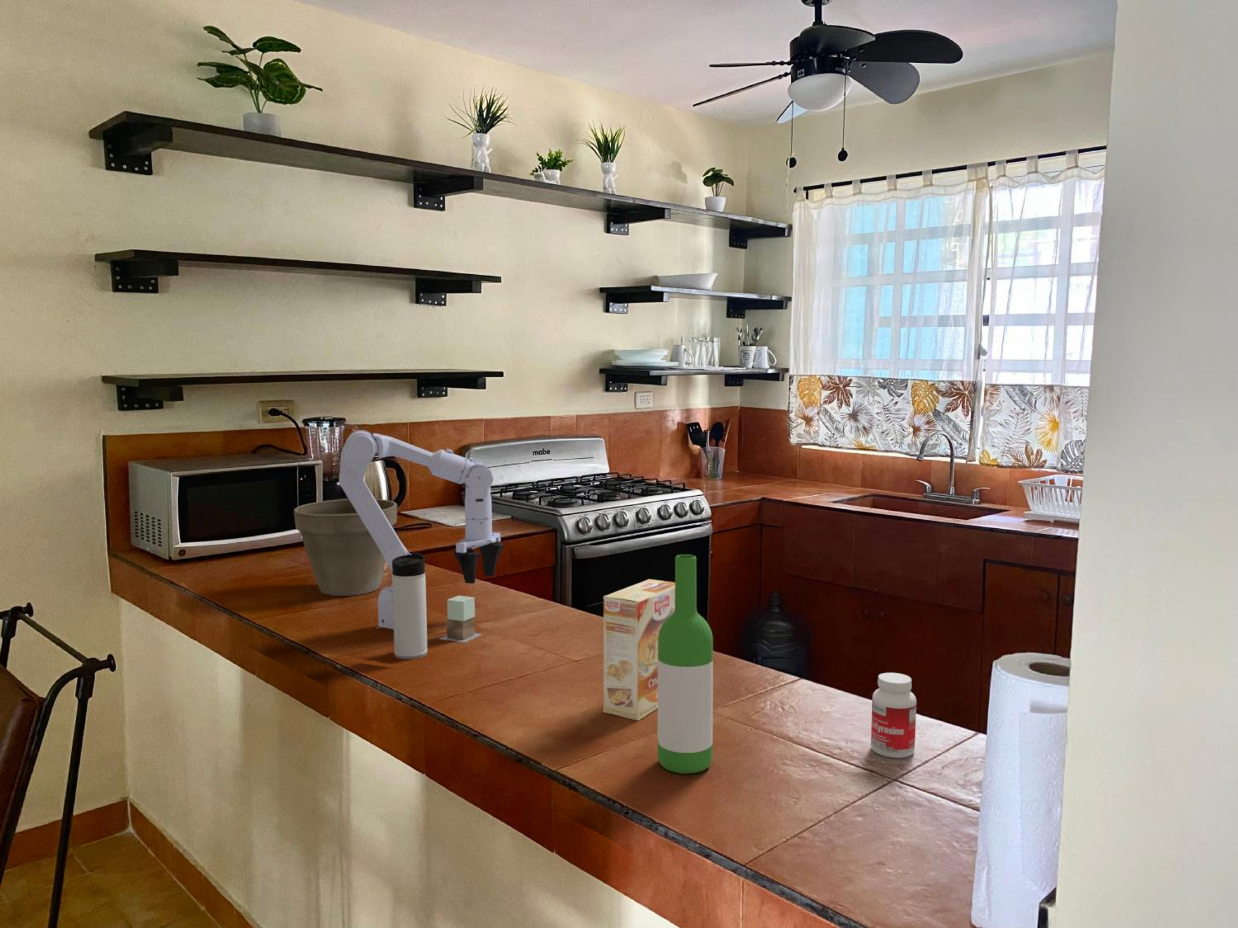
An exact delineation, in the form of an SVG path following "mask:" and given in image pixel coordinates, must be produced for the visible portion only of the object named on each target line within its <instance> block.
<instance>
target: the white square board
mask: <svg viewBox="0 0 1238 928" xmlns="http://www.w3.org/2000/svg"><path fill="white" fill-rule="evenodd" d="M482 635H483V633H476V632H474V635H473V636H471V637H469V638H467V639H465V640H459V639H452V638H447V634H446V635H444V636H442V637H440V638H438V640H442V641H443V640H444V641H450V642H458V643H464V644H465V643H467V642H469V641H472V640H474V639H475V638H479V637H480V636H482Z"/></svg>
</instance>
